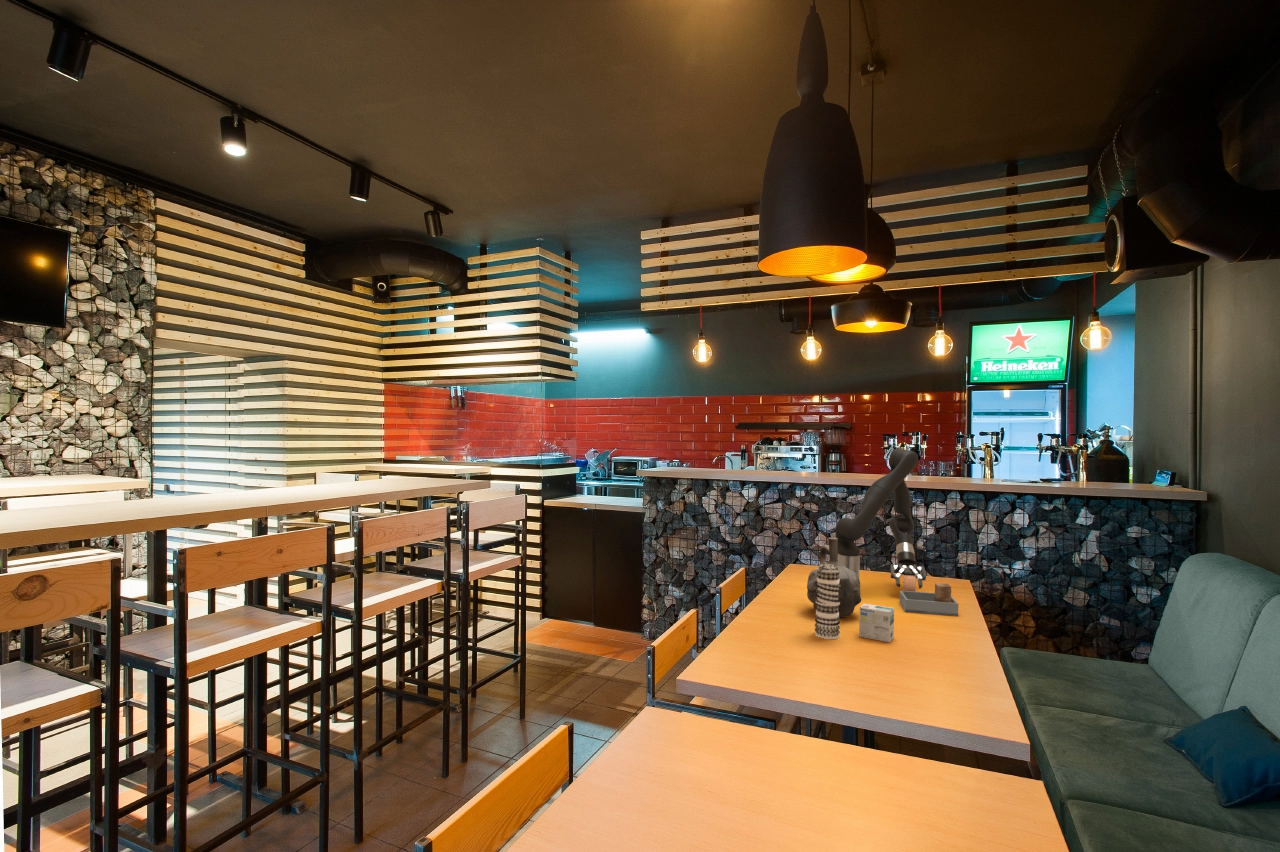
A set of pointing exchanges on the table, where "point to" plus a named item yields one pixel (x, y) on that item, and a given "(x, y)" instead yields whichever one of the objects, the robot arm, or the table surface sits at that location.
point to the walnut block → (942, 592)
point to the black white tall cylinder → (827, 602)
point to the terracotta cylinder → (909, 583)
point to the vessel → (847, 582)
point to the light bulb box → (876, 622)
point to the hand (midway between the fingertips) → (909, 586)
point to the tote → (927, 604)
